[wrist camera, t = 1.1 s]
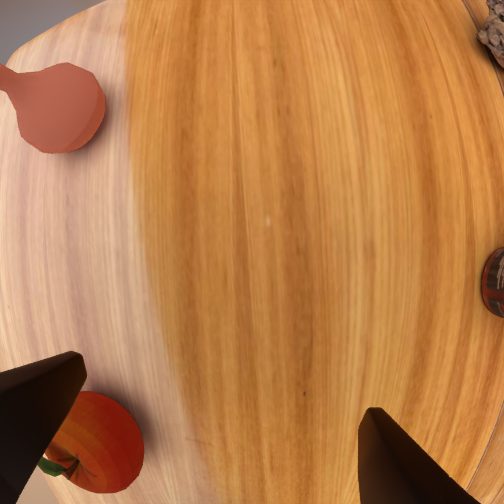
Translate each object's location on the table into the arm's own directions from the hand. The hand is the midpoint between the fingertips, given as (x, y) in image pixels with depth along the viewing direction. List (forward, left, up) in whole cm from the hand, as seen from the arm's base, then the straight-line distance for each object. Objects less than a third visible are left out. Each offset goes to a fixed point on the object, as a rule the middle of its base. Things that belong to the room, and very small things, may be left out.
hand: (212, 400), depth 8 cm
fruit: (-11, +15, -14) cm, 23 cm away
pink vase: (+17, +14, -14) cm, 26 cm away
